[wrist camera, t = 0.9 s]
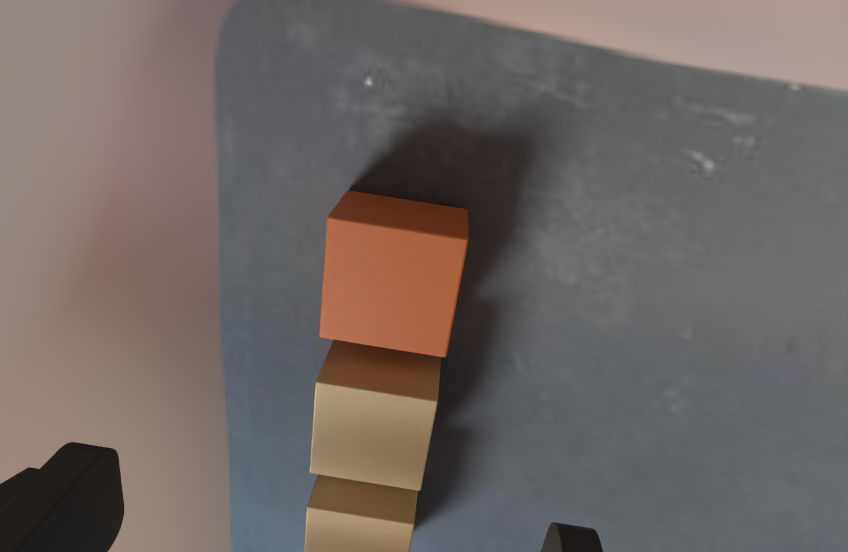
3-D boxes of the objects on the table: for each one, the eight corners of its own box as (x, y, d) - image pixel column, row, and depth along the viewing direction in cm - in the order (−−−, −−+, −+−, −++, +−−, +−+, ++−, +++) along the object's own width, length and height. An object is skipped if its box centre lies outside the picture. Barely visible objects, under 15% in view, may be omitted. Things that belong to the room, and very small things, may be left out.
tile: (324, 452, 26) (306, 507, 23) (420, 468, 26) (414, 524, 23) (319, 520, 28) (301, 578, 25) (407, 535, 28) (401, 595, 25)
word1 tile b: (334, 336, 23) (315, 381, 20) (441, 354, 23) (437, 401, 20) (327, 421, 25) (309, 473, 22) (425, 437, 25) (420, 491, 22)
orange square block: (347, 189, 20) (326, 216, 17) (468, 208, 20) (469, 239, 17) (337, 297, 22) (318, 338, 19) (448, 315, 22) (445, 358, 19)
